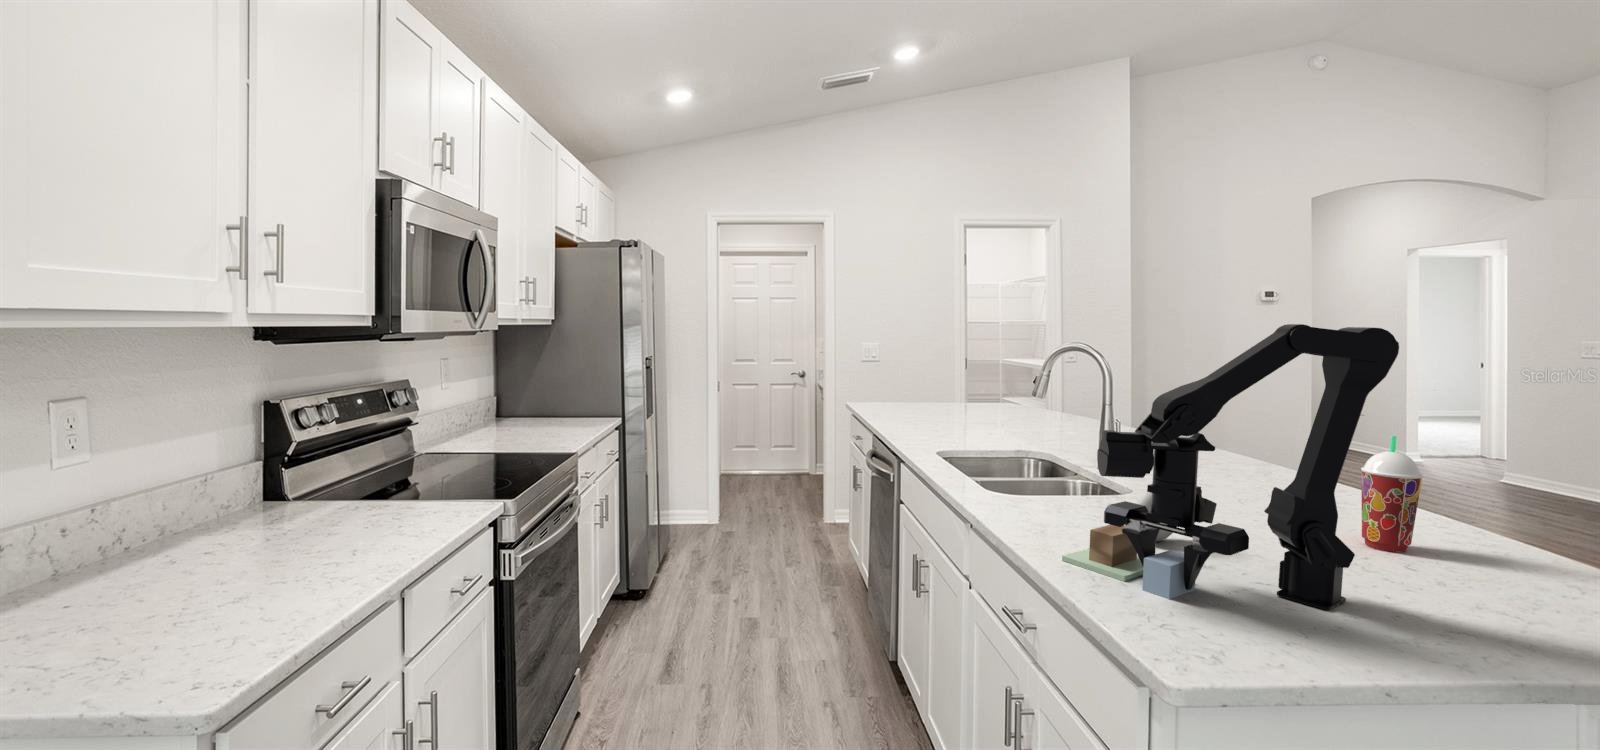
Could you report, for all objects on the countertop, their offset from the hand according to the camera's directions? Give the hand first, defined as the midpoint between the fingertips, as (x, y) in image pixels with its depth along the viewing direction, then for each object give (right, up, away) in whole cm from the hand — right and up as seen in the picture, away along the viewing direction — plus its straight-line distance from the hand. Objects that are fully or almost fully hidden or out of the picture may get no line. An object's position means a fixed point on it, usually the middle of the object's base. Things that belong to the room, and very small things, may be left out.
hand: (1169, 583), depth 104 cm
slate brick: (0, -1, 0) cm, 1 cm away
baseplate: (-4, 0, +11) cm, 11 cm away
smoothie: (+50, 0, +21) cm, 54 cm away
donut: (+10, 0, +23) cm, 25 cm away
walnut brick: (-4, +1, +11) cm, 11 cm away
